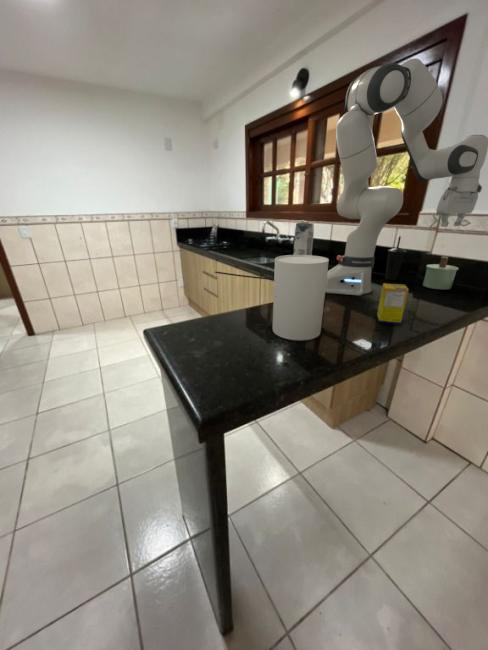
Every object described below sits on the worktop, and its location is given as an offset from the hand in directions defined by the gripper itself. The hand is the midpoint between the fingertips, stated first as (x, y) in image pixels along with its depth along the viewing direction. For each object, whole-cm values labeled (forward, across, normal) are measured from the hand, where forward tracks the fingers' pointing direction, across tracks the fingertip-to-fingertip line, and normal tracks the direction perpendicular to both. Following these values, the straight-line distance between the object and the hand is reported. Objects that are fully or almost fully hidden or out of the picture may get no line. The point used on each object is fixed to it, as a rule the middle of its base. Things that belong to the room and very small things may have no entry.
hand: (450, 226), depth 105 cm
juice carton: (+25, -29, +54) cm, 66 cm away
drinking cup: (+25, -2, +19) cm, 31 cm away
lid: (+16, +1, -1) cm, 17 cm away
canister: (+26, -81, -6) cm, 85 cm away
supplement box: (+25, -52, -15) cm, 60 cm away
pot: (+25, +1, -1) cm, 25 cm away
